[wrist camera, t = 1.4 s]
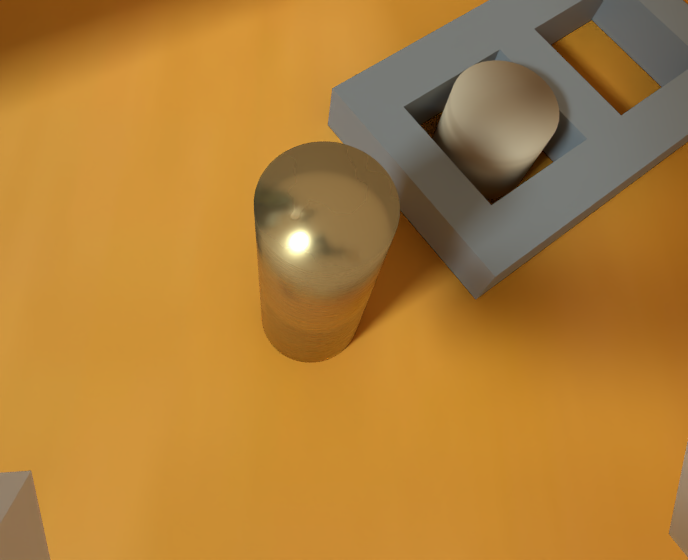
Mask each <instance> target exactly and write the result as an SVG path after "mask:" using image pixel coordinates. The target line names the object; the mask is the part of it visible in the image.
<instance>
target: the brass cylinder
mask: <svg viewBox="0 0 688 560" xmlns="http://www.w3.org/2000/svg"><path fill="white" fill-rule="evenodd" d="M254 215H255V229H256V243H257V257H258V272H259V286H260V300H261V314H262V324H263V328H264V331H265V334H266V336H267V338H268V339H269V341H270V343H271V344H272V345H273V346H274V347H275V348H276V349H277V350H278V351H279V352H280V353H282V354H283V355H285V356H287V357H289V358H291V359H294V360H296V361H301V362H309V363H310V362H320V361H324V360H328V359H330V358H332V357H334V356H336V355H338V354H339V353H340V352H342V351H343V350H344V349H345V348H346V347H347V346H348V345H349V343H350V342H351V340H352V339H353V337H354V335H355V332H356V330H357V327H358V325H359V322H360V320H361V317H362V315H363V312H364V310H365V307H366V305H367V302H368V300H369V297H370V295H371V292H372V290H373V287H374V285H375V282H376V280H377V277H378V275H379V272H380V270H381V267H382V265H383V262H384V260H385V257H386V255H387V252H388V250H389V247H390V245H391V242H392V240H393V237H394V235H395V232H396V229H397V226H398V223H399V217H400V202H399V196H398V192H397V189H396V187H395V184H394V182H393V181H392V179H391V177H390V175H389V174H388V173H387V171H386V170H385V169H384V168H383V167H382V166H381V165H380V164H379V162H377V161H376V160H375V159H374V158H372V157H371V156H370V155H368V154H366V153H365V152H363V151H361V150H359V149H357V148H355V147H352V146H349V145H346V144H341V143H336V142H312V143H307V144H302V145H299V146H296V147H294V148H292V149H290V150H288V151H286V152H284V153H282V154H281V155H280V156H278V157H277V158H276V159H275V160H273V161H272V162H271V163H270V164H269V166H268V167H267V168H266V169H265V171H264V172H263V174H262V175H261V177H260V179H259V182H258V184H257V187H256V191H255V197H254Z"/></svg>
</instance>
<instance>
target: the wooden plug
mask: <svg viewBox="0 0 688 560" xmlns="http://www.w3.org/2000/svg"><path fill="white" fill-rule="evenodd" d="M558 122H559V106H558V102H557V99H556V97H555V95H554V93H553V91H552V90H551V88H550V87H549V85H548V84H547V83H546V82H545V81H544V80H543V79H542V78H541V77H540V76H539V75H537V74H536V73H535V72H533V71H531V70H530V69H528V68H526V67H524V66H522V65H519V64H516V63H512V62H508V61H500V60H493V61H485V62H481V63H478V64H475V65H473V66H471V67H469V68H468V69H466V70H465V71H464V72H463V73H461V74H460V76H459V77H458V78H457V80H456V81H455V83H454V85H453V88H452V90H451V93H450V95H449V98H448V100H447V103H446V105H445V108H444V110H443V113H442V116H441V118H440V121H439V123H438V126H437V128H436V131H435V133H434V136H433V138H432V139H433V141H434V142H435V143H436V144H437V145H438V146H439V147H440V148H441V149H442V151H443V152H444V153H445V154H446V155H447V156H448V157H449V158H450V160H451V161H452V162H453V163H454V164H455V165H456V166H457V167H458V168H459V170H460V171H461V172H462V173H463V174H464V175H465V176H466V177H467V179H468V180H469V181H470V182H471V183H472V184H473V185H474V186H475V188H476V189H477V190H478V191H479V192H480V193H481V194H482V195H483V196H484V198H485V199H486V200H488V199H495V198H499V197H502V196H504V195H506V194H508V193H510V192H511V191H512V190H514V189H515V188H516V187H517V185H518V184H519V183H520V182H521V180H522V179H523V177H524V176H525V174H526V173H527V172H528V170H529V169H530V167H531V166H532V164H533V163H534V162H535V160H536V159H537V157H538V156H539V154H540V153H541V152H542V150H543V149H544V147H545V146H546V144H547V143H548V142H549V140H550V139H551V137H552V136H553V134H554V133H555V131H556V129H557V126H558Z"/></svg>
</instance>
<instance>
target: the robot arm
mask: <svg viewBox="0 0 688 560" xmlns="http://www.w3.org/2000/svg"><path fill="white" fill-rule="evenodd" d="M669 534H670V536H671V537H672V538H673V539H674V541H675V542H676V543H677V544H678V546H679V547H680V548H681V549H682V551H683V552H684V553H685V554H686V556H687V557H688V442H687V447H686V452H685V457H684V462H683V467H682V472H681V477H680V481H679V486H678V491H677V496H676V501H675V506H674V511H673V516H672V521H671V526H670V530H669ZM0 560H50V556H49V551H48V547H47V542H46V538H45V533H44V528H43V524H42V519H41V514H40V510H39V505H38V500H37V496H36V491H35V486H34V482H33V477H32V473H31V471H21V472H6V473H0Z"/></svg>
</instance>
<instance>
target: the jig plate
mask: <svg viewBox="0 0 688 560" xmlns="http://www.w3.org/2000/svg"><path fill="white" fill-rule="evenodd" d="M590 20H593V21H594V22H595V23H596V24H597V25H598V26H599V27H600V28H601V29H602V30H603V31H604V32H605V33H606V34H607V35H608V36H609V37H610V38H611V39H612V40H613V41H614V42H615V43H617V44H618V45H619V46H620V47H621V48H622V49H623V50H624V51H625V52H626V53H627V54H628V55H629V56H630V57H631V58H632V59H633V60H634V61H635V62H636V63H637V64H638V65H639V66H640V67H642V68H643V69H644V70H645V71H646V72H647V73H648V74H649V75H650V76H651V77H652V78H653V79H654V80H655V81H656V82H657V83H658V84H659V85H660V86H661V87H662V88H660V89H659V90H657V91H656V92H654V93H653V94H651V95H650V96H649V97H647V98H646V99H644V100H643V101H641V102H640V103H638V104H637V105H636V106H634V107H633V108H631V109H630V110H628V111H627V112H625V113H624V114H623V115H620V114H619V113H618V112H617V111H616V110H615V109H614V108H613V107H612V106H611V105H610V104H609V103H608V102H607V101H606V100H605V99H604V98H603V97H602V96H601V95H600V94H599V93H598V92H597V91H596V90H595V89H594V88H593V87H592V86H591V85H590V84H589V83H588V82H587V81H586V80H585V79H584V78H583V77H582V76H581V75H580V74H579V73H578V72H577V71H576V70H575V69H574V68H573V67H572V66H571V65H570V64H569V63H568V62H567V61H566V60H565V59H564V58H563V57H562V56H561V55H560V54H559V53H558V52H557V51H556V50H555V49H554V48H553V47H552V46H551V44H553V43H555V42H556V41H558V40H559V39H561V38H563V37H564V36H566V35H568V34H569V33H571V32H572V31H574V30H576V29H577V28H579V27H581V26H582V25H584V24H586V23H587V22H589V21H590ZM493 60H500V61H508V62H512V63H516V64H519V65H522V66H524V67H526V68H528V69H530V70H531V71H533V72H535V73H536V74H537V75H539V76H540V77H541V78H542V79H543V80H544V81H545V82H546V83H547V84H548V85H549V87H550V88H551V90H552V91H553V93H554V95H555V97H556V99H557V102H558V106H559V122H558V126H557V129H556V131H555V133H554V134H553V136H552V137H551V139H550V140H549V142H548V143H547V144H546V146H545V147H544V149H543V151H544V152H545V153H546V154H547V155H548V157H549V158H550V159H551V160H552V161H553V163H552V164H550V165H549V166H547V167H546V168H545V169H543V170H542V171H540V172H539V173H537V174H536V175H534V176H533V177H532V178H530V179H529V180H527V181H526V182H524V183H523V184H521V185H520V186H519V187H517V188H516V189H514V190H513V191H511V192H510V193H508V194H507V195H506V196H504V197H503V198H501V199H500V200H498V201H497V202H495V203H494V204H493V205H491V204H490V203H489V202H488V201H487V200H486V199H485V198H484V196H483V195H482V194H481V193H480V192H479V191H478V190H477V189H476V188H475V186H474V185H473V184H472V183H471V182H470V181H469V180H468V179H467V177H466V176H465V175H464V174H463V173H462V172H461V171H460V170H459V168H458V167H457V166H456V165H455V164H454V163H453V162H452V161H451V160H450V158H449V157H448V156H447V155H446V154H445V153H444V152H443V151H442V149H441V148H440V147H439V146H438V145H437V144H436V143H435V142H434V141H433V139H432V138H431V137H430V136H429V135H428V134H427V133H426V132H425V130H424V129H423V128H422V127H421V126H420V125H421V124H423V123H424V122H426V121H427V120H429V119H431V118H432V117H434V116H436V115H437V114H439V113H441V112H442V111H443V110H444V108H445V105H446V103H447V100H448V98H449V95H450V93H451V90H452V88H453V85H454V83H455V81H456V80H457V78H458V77H459V76H460V74H461V73H463V72H464V71H465V70H466V69H468V68H469V67H471V66H473V65H475V64H478V63H481V62H485V61H493ZM328 125H329V127H330V128H331V129H332V130H333V131H334V133H335V134H336V135H337V136H338V137H339V138H340V140H341V141H342V142H343V143H344V144H346V145H349V146H352V147H355V148H357V149H359V150H361V151H363V152H365V153H366V154H368V155H370V156H371V157H372V158H374V159H375V160H376V161H377V162H379V164H380V165H381V166H382V167H383V168H384V169H385V170H386V171H387V173H388V174H389V175H390V177H391V179H392V181H393V182H394V184H395V187H396V189H397V192H398V196H399V202H400V211H401V212H402V213H403V214H404V215H405V216H406V218H407V219H408V220H409V221H410V222H411V224H412V225H413V226H414V227H415V228H416V229H417V231H418V232H419V233H420V234H421V235H422V237H423V238H424V239H425V240H426V241H427V242H428V244H429V245H430V246H431V247H432V248H433V250H434V251H435V252H436V253H437V254H438V255H439V257H440V258H441V259H442V260H443V261H444V263H445V264H446V265H447V266H448V267H449V268H450V270H451V271H452V272H453V273H454V274H455V276H456V277H457V278H458V279H459V280H460V281H461V283H462V284H463V285H464V286H465V287H466V289H467V290H468V291H469V292H470V293H471V294H472V296H473V297H474V298H475V299H477V298H479V297H480V296H481V295H483V294H484V293H485V292H487V291H488V290H489V289H491V288H492V287H493V286H495V285H496V284H497V283H499V282H500V281H501V280H503V279H504V278H505V277H507V276H508V275H509V274H511V273H512V272H513V271H515V270H516V269H517V268H519V267H520V266H521V265H523V264H524V263H526V262H527V261H528V260H530V259H531V258H532V257H534V256H535V255H536V254H538V253H539V252H540V251H542V250H543V249H544V248H546V247H547V246H548V245H550V244H551V243H552V242H554V241H555V240H556V239H558V238H559V237H560V236H562V235H563V234H564V233H566V232H567V231H568V230H570V229H571V228H572V227H574V226H575V225H577V224H578V223H579V222H581V221H582V220H583V219H585V218H586V217H587V216H589V215H590V214H591V213H593V212H594V211H595V210H597V209H598V208H599V207H601V206H602V205H603V204H605V203H606V202H607V201H609V200H610V199H611V198H613V197H614V196H615V195H617V194H618V193H619V192H621V191H622V190H624V189H625V188H626V187H628V186H629V185H630V184H632V183H633V182H634V181H636V180H637V179H638V178H640V177H641V176H642V175H644V174H645V173H646V172H648V171H649V170H650V169H652V168H653V167H654V166H656V165H657V164H658V163H660V162H661V161H662V160H664V159H665V158H666V157H668V156H669V155H670V154H672V153H673V152H675V151H676V150H677V149H679V148H680V147H681V146H683V145H684V144H685V143H687V142H688V4H687V3H685V2H684V1H683V0H489V1H487V2H485V3H484V4H482V5H480V6H478V7H476V8H475V9H473V10H471V11H469V12H468V13H466V14H464V15H462V16H460V17H459V18H457V19H455V20H453V21H452V22H450V23H448V24H446V25H444V26H443V27H441V28H439V29H437V30H436V31H434V32H432V33H430V34H428V35H427V36H425V37H423V38H421V39H420V40H418V41H416V42H414V43H412V44H411V45H409V46H407V47H405V48H403V49H402V50H400V51H398V52H396V53H395V54H393V55H391V56H389V57H387V58H386V59H384V60H382V61H380V62H379V63H377V64H375V65H373V66H371V67H370V68H368V69H366V70H364V71H363V72H361V73H359V74H357V75H355V76H354V77H352V78H350V79H348V80H347V81H345V82H343V83H341V84H339V85H338V86H336V87H334V88H332V96H331V104H330V112H329V120H328Z"/></svg>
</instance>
